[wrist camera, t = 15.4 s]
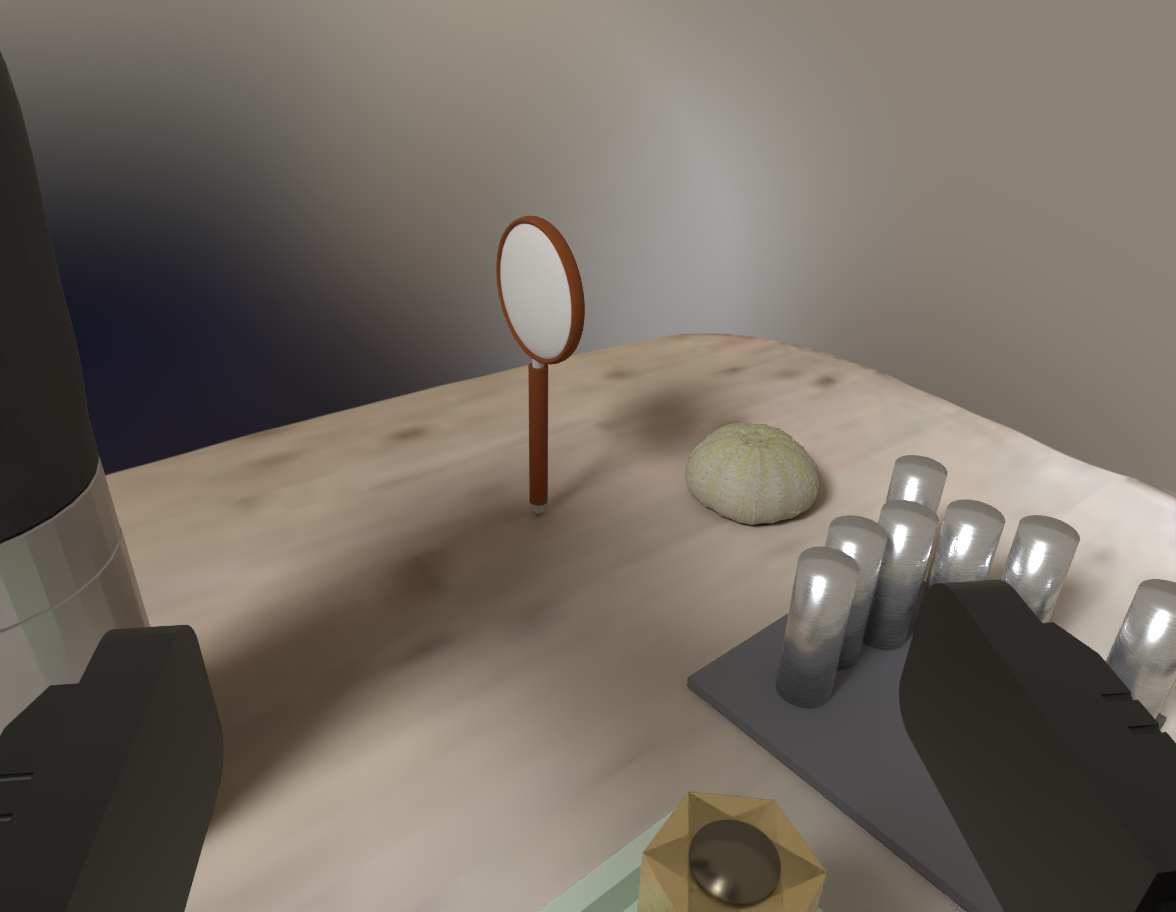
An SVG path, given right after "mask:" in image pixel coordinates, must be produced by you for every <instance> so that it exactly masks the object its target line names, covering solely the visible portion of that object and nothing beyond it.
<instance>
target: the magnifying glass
mask: <svg viewBox="0 0 1176 912" xmlns="http://www.w3.org/2000/svg"><path fill="white" fill-rule="evenodd" d="M496 271H497V285H498V292H499V297H500V302H501V306H502V309H503V313H504V316H505V318H506V321H507V324H508V326H509V328H510V330H511V332H512V334H513V336H514V338H515V339H516V341H517V343H518V344H519V345H520V347H521V348H522V349H523V350H524V351H525V352H526V354H527V355H528V356H530V357H531V358H532V363H531V364H529V477H530V503H531V504H533V511H534V512H535V513H536V514H541V513H542V512H543V511H544V504H546V503H547V500H548V365H547V364H557V363H560V362H562V361H564V360H566V359H567V358H569V357H570V356H571V355H572V353H573V352H574V351H575V349H576V348H577V346H578V344H579V341H580V339H581V335H582V331H583V326H584V315H585V310H584V309H585V308H584V307H585V305H584V293H583V287H582V282H581V277H580V274H579V270H578V267H577V264H576V261H575V259H574V256H573V254H572V252H571V250H570V248H569V246H568V244H567V242H566V241H565V239H564V238H563V236H562V235H561V234H560V232H559V231H558V230H557V229H556V228H555V227H554V226H553V225H552V224H550V223H549V222H548V221H546V220H544V219H542V218H539V217H536V216H525V217H521V218H518V219H516V220H515V221H513V222H512V223H511V224H510V225H509V226H508V227H507V229H506V230H505V232H504V233H503V235H502V238H501V240H500V244H499V249H498V254H497V269H496Z"/></svg>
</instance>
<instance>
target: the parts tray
mask: <svg viewBox="0 0 1176 912" xmlns="http://www.w3.org/2000/svg"><path fill="white" fill-rule="evenodd" d="M675 809H676V808H675ZM675 809H674V810H675ZM674 810H672V811H671V812H670V813H668V814H667V815H666V816H664V817H663V818H662V819H660V820H659V821H658V822H656V823H655V824H654V825H652V826H651V827H650V828H648V829H647V830H646V831H644V832H643V833H642V834H640V835H639V836H638V837H636V838H635V839H634V840H632V841H631V842H630V843H628V844H627V845H626V846H624V847H623V848H622V849H620V850H619V851H618V852H616V853H615V854H614V855H612V856H611V857H610V858H608V859H607V860H606V861H604V862H603V863H602V864H600V865H599V866H597V867H596V868H595V869H593V870H592V871H591V872H589V873H588V874H587V875H585V876H584V877H583V878H581V879H580V880H579V881H577V882H576V883H575V884H573V885H572V886H571V887H569V888H568V889H567V890H565V891H564V892H563V893H561V894H560V895H559V896H557V897H556V898H555V899H553V900H552V901H551V902H549V903H548V904H547V905H545V906H544V907H543V908H541V909H540V910H539V911H537V912H637V907H638V896H639V885H640V874H641V863H642V853H643V851H644V850H645V848H646V847H647V846H648V844H649V843H650V842H651V840H652V839H653V838H654V837H655V835H656V834H657V833H658V831H659V830H660V829H661V827H662V826H663V825H664V823H665V822H666V821H667V819H668V818H669V817H670V815H671V814H672V813H673V811H674ZM817 912H824V911H823V910H822V909H821V908H820V907H818V909H817Z"/></svg>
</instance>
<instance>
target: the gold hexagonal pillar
mask: <svg viewBox="0 0 1176 912" xmlns="http://www.w3.org/2000/svg"><path fill="white" fill-rule="evenodd" d="M826 875H827V871H826V870H825V869H824V867H823V866H822V865H821V863H820V862H819V861H818V859H817V858H816V856H815V855H814V854H813V852H812V851H811V850H810V848H809V847H808V846H807V844H806V843H805V842H804V840H803V839H802V837H801V836H800V835H799V833H798V832H797V831H796V829H795V828H794V827H793V825H792V824H791V823H790V821H789V820H788V819H787V817H786V816H785V814H784V813H783V812H782V810H781V809H780V808H779V806H778V805H777V804H776V802H775V801H774V800H765V799H756V798H746V797H736V796H726V795H716V794H706V793H697V792H688V793H687V794H686V795H685V797H684V798H683V799H682V801H681V802H680V803H679V805H678V806H677V807H676V809H675V810H674V811H673V813H672V814H671V815H670V817H669V818H668V819H667V821H666V822H665V823H664V825H663V826H662V827H661V829H660V830H659V831H658V833H657V834H656V835H655V837H654V838H653V839H652V840H651V842H650V843H649V844H648V846H647V847H646V848H645V850H644V851H643V853H642V863H641V874H640V885H639V896H638V907H637V912H817V909H818V905H819V901H820V897H821V894H822V890H823V886H824V882H825V878H826Z"/></svg>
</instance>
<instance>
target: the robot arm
mask: <svg viewBox="0 0 1176 912" xmlns="http://www.w3.org/2000/svg"><path fill="white" fill-rule="evenodd" d="M899 704H900V711H901V715H902V720H903V723H904V726H905V729H906V731H907V734H908V736H909V738H910V740H911V741H912V743H913V745H914V747H915V749H916V751H917V752H918V754H919V756H920V758H921V760H922V762H923V764H924V765H925V767H926V769H927V771H928V773H929V775H930V776H931V778H932V780H933V782H934V784H935V786H936V787H937V789H938V791H939V793H940V795H941V797H942V798H943V800H944V802H945V804H946V806H947V808H948V809H949V811H950V813H951V815H952V817H953V819H954V821H955V822H956V824H957V826H958V828H959V830H960V832H961V833H962V835H963V837H964V839H965V841H966V843H967V844H968V846H969V848H970V850H971V852H972V854H973V855H974V857H975V859H976V861H977V863H978V865H979V867H980V868H981V870H982V872H983V874H984V876H985V878H986V879H987V881H988V883H989V885H990V887H991V889H992V890H993V892H994V894H995V896H996V898H997V900H998V901H999V903H1000V905H1001V907H1002V909H1003V911H1004V912H1176V743H1175V742H1174V741H1173V739H1172V738H1171V737H1170V736H1169V735H1168V734H1167V733H1166V732H1163V733H1161V731H1160V730H1159V723H1158V722H1157V721H1156V720H1155V719H1154V717H1153V716H1152V715H1151V714H1150V713H1149V712H1148V710H1147V709H1146V708H1145V707H1144V706H1143V705H1142V704H1141V702H1140V701H1139V700H1133V699H1132V696H1131V691H1130V690H1129V688H1128V687H1127V686H1126V685H1125V684H1124V683H1123V681H1122V680H1121V679H1120V678H1119V677H1118V676H1117V675H1116V673H1115V672H1114V671H1113V670H1112V669H1111V668H1110V666H1109V665H1108V664H1107V663H1106V662H1105V661H1104V659H1103V658H1102V657H1101V656H1100V655H1099V654H1098V653H1097V652H1095V651H1094V650H1092V649H1091V648H1090V647H1088V646H1087V645H1085V644H1084V643H1082V642H1081V641H1079V640H1078V639H1077V638H1075V637H1074V636H1072V635H1071V634H1069V633H1068V632H1067V631H1065V630H1064V629H1062V628H1061V627H1059V626H1058V625H1056V624H1055V623H1054V622H1051V623H1042V622H1041V621H1040V620H1039V618H1038V617H1037V616H1036V615H1035V613H1034V612H1033V611H1032V610H1031V609H1030V607H1029V606H1028V605H1027V604H1026V603H1025V601H1024V600H1023V599H1022V598H1021V596H1020V595H1019V594H1018V593H1017V592H1016V590H1015V589H1014V588H1013V587H1012V586H1011V585H1009V584H1008V583H1007V582H1005V581H1002V580H983V581H966V582H949V583H936V584H934V585H932V586H931V587H930V588H929V589H928V590H927V592H926V594H925V596H924V599H923V602H922V606H921V609H920V613H919V616H918V620H917V623H916V626H915V630H914V633H913V637H912V640H911V644H910V647H909V651H908V654H907V657H906V661H905V664H904V668H903V671H902V675H901V679H900V684H899ZM222 764H223V738H222V730H221V725H220V721H219V717H218V713H217V710H216V706H215V702H214V698H213V695H212V691H211V687H210V684H209V680H208V676H207V672H206V669H205V665H204V661H203V657H202V654H201V650H200V646H199V643H198V639H197V636H196V634H195V632H194V630H193V629H192V627H190V626H189V625H176V626H158V627H150V624H149V621H148V617H147V614H146V611H145V607H144V604H143V601H142V597H141V594H140V591H139V587H138V584H137V580H136V577H135V574H134V570H133V567H132V564H131V560H130V557H129V554H128V550H127V547H126V543H125V540H124V537H123V533H122V530H121V527H120V524H119V521H118V518H117V515H116V511H115V508H114V505H113V501H112V498H111V494H110V491H109V488H108V484H107V481H106V478H105V474H104V471H103V467H102V464H101V461H100V458H99V453H98V450H97V446H96V443H95V440H94V436H93V433H92V429H91V425H90V421H89V417H88V410H87V404H86V397H85V390H84V383H83V377H82V369H81V363H80V359H79V354H78V349H77V344H76V339H75V335H74V331H73V328H72V324H71V320H70V316H69V313H68V309H67V305H66V302H65V298H64V294H63V291H62V286H61V282H60V277H59V273H58V269H57V265H56V260H55V256H54V252H53V248H52V244H51V239H50V235H49V229H48V225H47V220H46V215H45V211H44V206H43V202H42V197H41V192H40V187H39V183H38V178H37V174H36V169H35V164H34V159H33V155H32V151H31V147H30V143H29V139H28V135H27V131H26V127H25V123H24V119H23V115H22V111H21V108H20V105H19V101H18V98H17V95H16V93H15V90H14V87H13V84H12V81H11V78H10V75H9V72H8V69H7V66H6V63H5V61H4V59H3V57H2V54H1V52H0V912H184V911H185V907H186V903H187V900H188V896H189V893H190V889H191V886H192V882H193V878H194V875H195V871H196V868H197V864H198V861H199V857H200V853H201V850H202V846H203V843H204V839H205V836H206V832H207V828H208V825H209V821H210V818H211V814H212V811H213V807H214V803H215V800H216V796H217V793H218V789H219V785H220V780H221V773H222Z"/></svg>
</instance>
